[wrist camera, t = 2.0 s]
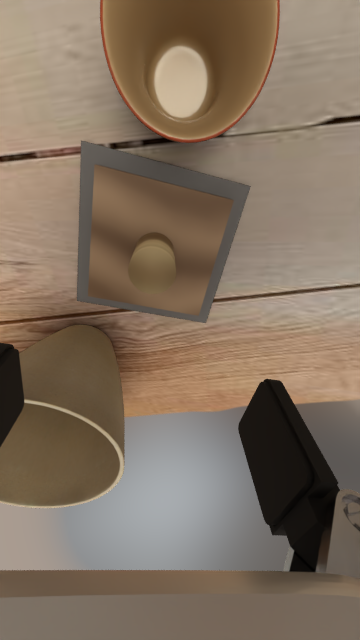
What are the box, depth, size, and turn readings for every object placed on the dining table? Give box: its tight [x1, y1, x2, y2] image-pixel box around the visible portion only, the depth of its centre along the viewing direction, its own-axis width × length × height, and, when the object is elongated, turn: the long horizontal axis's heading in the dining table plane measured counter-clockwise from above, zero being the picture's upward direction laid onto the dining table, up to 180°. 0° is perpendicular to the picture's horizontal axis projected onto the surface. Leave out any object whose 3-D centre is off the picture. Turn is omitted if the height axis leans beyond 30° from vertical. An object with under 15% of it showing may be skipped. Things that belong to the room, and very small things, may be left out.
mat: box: [77, 141, 250, 323], centre depth 27 cm, size 16×16×1 cm
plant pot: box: [0, 325, 124, 508], centre depth 27 cm, size 15×15×16 cm
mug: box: [100, 0, 280, 143], centre depth 16 cm, size 12×9×10 cm
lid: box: [88, 164, 234, 316], centre depth 24 cm, size 13×13×7 cm
